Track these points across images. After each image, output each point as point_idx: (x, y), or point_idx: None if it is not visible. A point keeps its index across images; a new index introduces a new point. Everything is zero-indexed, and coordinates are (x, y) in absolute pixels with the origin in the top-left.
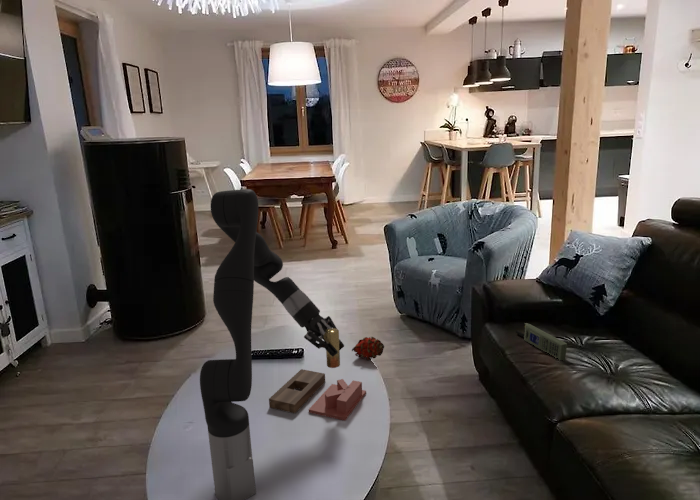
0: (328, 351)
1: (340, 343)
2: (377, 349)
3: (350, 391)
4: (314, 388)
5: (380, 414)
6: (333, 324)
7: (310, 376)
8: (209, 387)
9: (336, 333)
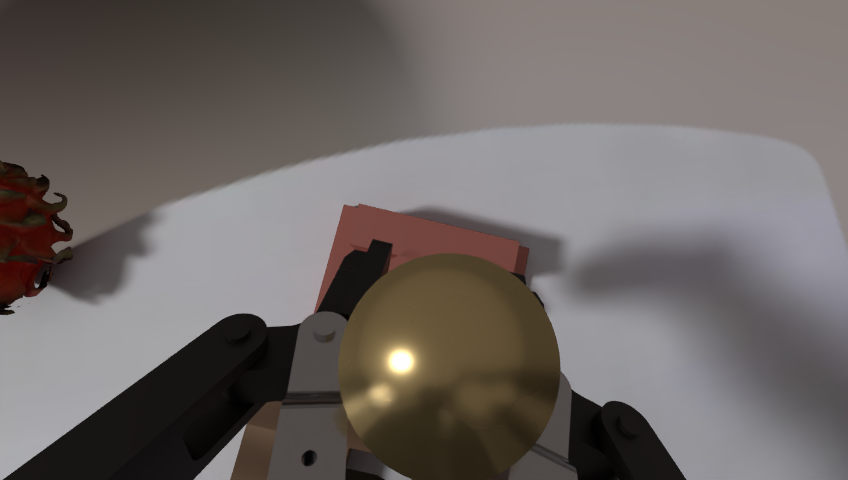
0: None
1: (383, 267)
2: (22, 178)
3: (441, 237)
4: None
5: (469, 144)
6: (127, 413)
7: None
8: None
9: (509, 274)
